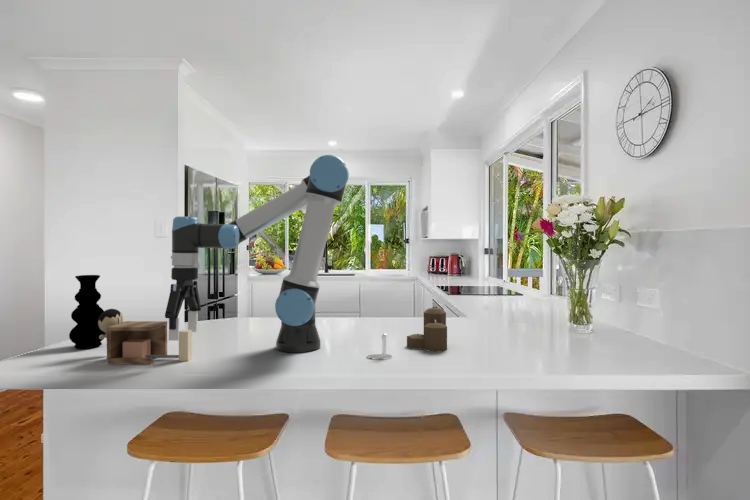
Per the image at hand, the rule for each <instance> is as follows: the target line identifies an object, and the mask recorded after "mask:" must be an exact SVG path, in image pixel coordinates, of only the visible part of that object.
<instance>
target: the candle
mask: <svg viewBox="0 0 750 500" xmlns="http://www.w3.org/2000/svg"><path fill="white" fill-rule="evenodd" d="M407 346H408V348H411V349H412V348H417V349H418V350H425V349H426V350H425V351H428V352H437V351H442V352H444V351H446V350H448V326H447V312H446V311H445V310H444V309H443V308H440V307H437V306H436V303H435V302H434V303H433V307H429V308H427V309H425V310H424V311H423V334H422V333H414V334H410V335H407V336H406V347H407ZM419 348H420V349H419ZM417 349H416V350H417Z"/></svg>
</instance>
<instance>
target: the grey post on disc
mask: <svg viewBox="0 0 750 500" xmlns="http://www.w3.org/2000/svg"><path fill="white" fill-rule="evenodd" d="M381 340H382V341H381V342H382V344H381V347H382V348H381V352H382V353H380V354H377V353H376V354H374V353H373V354H368V355H367V356H366V358H367V357H368V358H373V359H372V360H374V359H376V360H390V359H389V358H391V359H393V355H391V354H387V333H382V335H381ZM368 358H367V359H368Z"/></svg>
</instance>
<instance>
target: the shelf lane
mask: <svg viewBox="0 0 750 500" xmlns="http://www.w3.org/2000/svg"><path fill="white" fill-rule="evenodd" d="M130 339H151V355H168V321H166V320H164V321H160V320H159V321H154V320H153V321H148V320H147V321H143V320H141V321H140V320H139V321H136V320H135V321H130V320H129V321H123V322H122V323H119V324H116V325H112V326H109V327H107V338H106V364H107V365H152V364H154V358H123V342H124V341H127V340H130Z"/></svg>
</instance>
